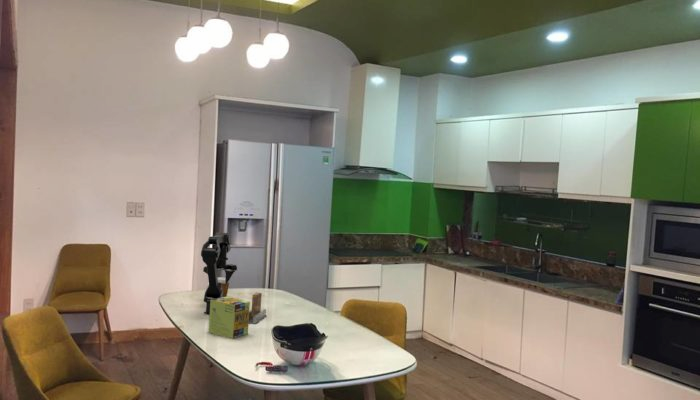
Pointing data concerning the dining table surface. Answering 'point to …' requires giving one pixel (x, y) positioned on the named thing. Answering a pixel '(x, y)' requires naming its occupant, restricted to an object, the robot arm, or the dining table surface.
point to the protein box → (229, 317)
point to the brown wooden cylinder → (223, 285)
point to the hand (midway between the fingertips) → (219, 284)
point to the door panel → (256, 304)
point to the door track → (257, 316)
